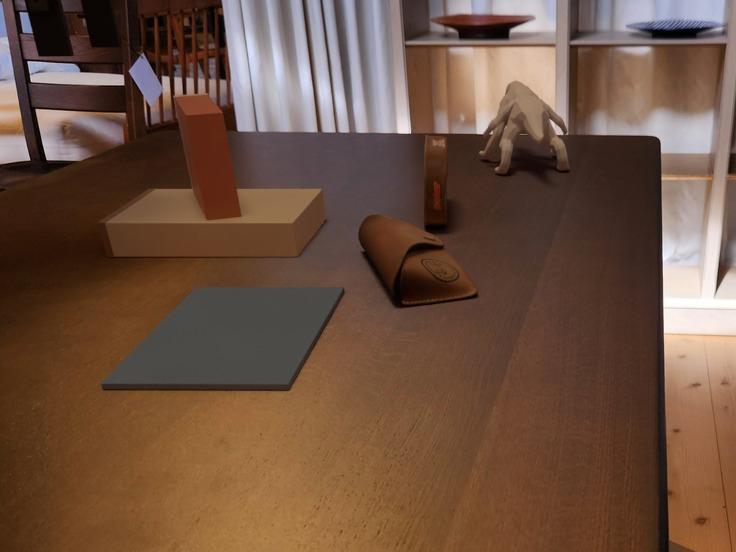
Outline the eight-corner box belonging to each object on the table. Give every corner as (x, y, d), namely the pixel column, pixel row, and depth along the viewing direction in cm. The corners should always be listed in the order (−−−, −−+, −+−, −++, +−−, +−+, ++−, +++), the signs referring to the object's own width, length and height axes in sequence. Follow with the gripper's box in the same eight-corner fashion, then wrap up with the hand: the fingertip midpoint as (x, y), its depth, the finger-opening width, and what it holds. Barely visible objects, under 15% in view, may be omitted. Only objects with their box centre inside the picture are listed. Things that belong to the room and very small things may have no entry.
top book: (206, 221, 90) (184, 114, 85) (193, 193, 100) (173, 95, 94) (242, 217, 92) (223, 111, 86) (226, 190, 101) (207, 93, 95)
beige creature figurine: (551, 147, 135) (551, 75, 129) (593, 187, 115) (596, 102, 109) (473, 151, 133) (470, 78, 127) (501, 192, 113) (499, 107, 107)
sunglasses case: (485, 291, 81) (445, 231, 77) (424, 337, 81) (381, 280, 77) (436, 237, 95) (400, 184, 91) (383, 277, 95) (346, 226, 91)
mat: (102, 389, 66) (100, 383, 65) (196, 292, 83) (195, 286, 83) (288, 390, 65) (287, 384, 65) (344, 292, 82) (344, 286, 82)
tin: (426, 200, 110) (421, 127, 105) (451, 200, 110) (447, 127, 105) (423, 236, 97) (417, 155, 92) (452, 235, 97) (447, 154, 93)
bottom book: (106, 257, 92) (97, 222, 90) (156, 220, 104) (149, 188, 102) (297, 257, 91) (292, 222, 89) (326, 220, 103) (322, 188, 101)
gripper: (-3, -289, 60) (78, 60, 71) (111, -217, 82) (160, 43, 93) (-118, -291, 60) (-18, 61, 71) (27, -218, 81) (86, 44, 92)
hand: (83, 52), depth 82 cm, fingers open, 13 cm apart
